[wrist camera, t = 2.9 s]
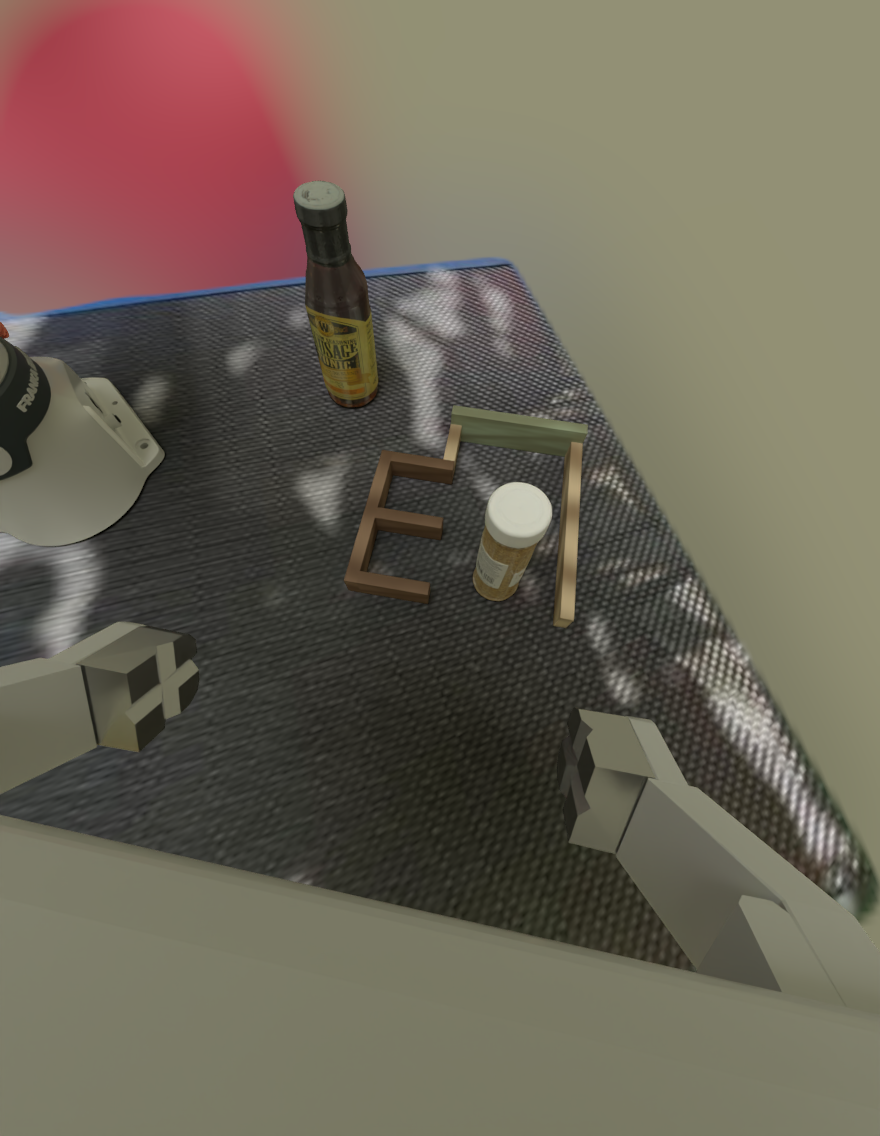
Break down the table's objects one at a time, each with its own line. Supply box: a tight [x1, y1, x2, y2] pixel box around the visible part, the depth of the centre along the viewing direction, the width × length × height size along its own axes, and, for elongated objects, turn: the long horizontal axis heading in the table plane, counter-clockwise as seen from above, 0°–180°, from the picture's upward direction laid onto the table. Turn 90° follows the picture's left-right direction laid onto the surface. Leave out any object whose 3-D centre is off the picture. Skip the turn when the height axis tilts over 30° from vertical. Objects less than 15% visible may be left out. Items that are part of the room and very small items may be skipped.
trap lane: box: [344, 405, 588, 628], centre depth 42 cm, size 21×21×4 cm
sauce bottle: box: [293, 181, 378, 407], centre depth 42 cm, size 7×6×20 cm
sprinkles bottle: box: [473, 482, 552, 601], centre depth 35 cm, size 5×5×13 cm
